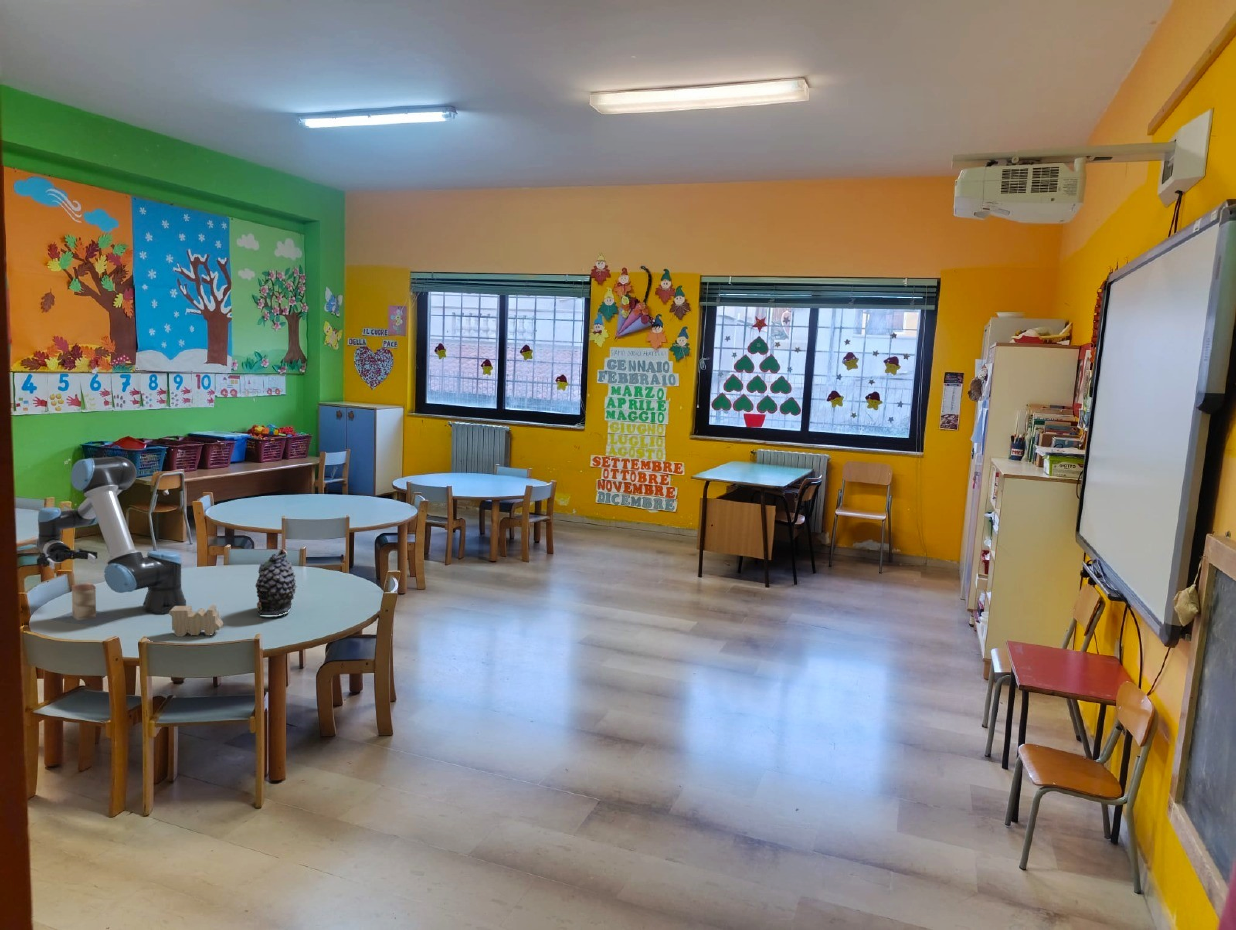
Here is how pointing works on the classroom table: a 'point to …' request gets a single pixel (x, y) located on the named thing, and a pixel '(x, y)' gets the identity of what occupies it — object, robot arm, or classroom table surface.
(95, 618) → the slate mat
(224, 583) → the classroom table surface
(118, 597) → the classroom table surface
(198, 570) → the classroom table surface
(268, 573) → the dark pine cone
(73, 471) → the robot arm
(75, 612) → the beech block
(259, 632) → the classroom table surface
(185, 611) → the toy train
